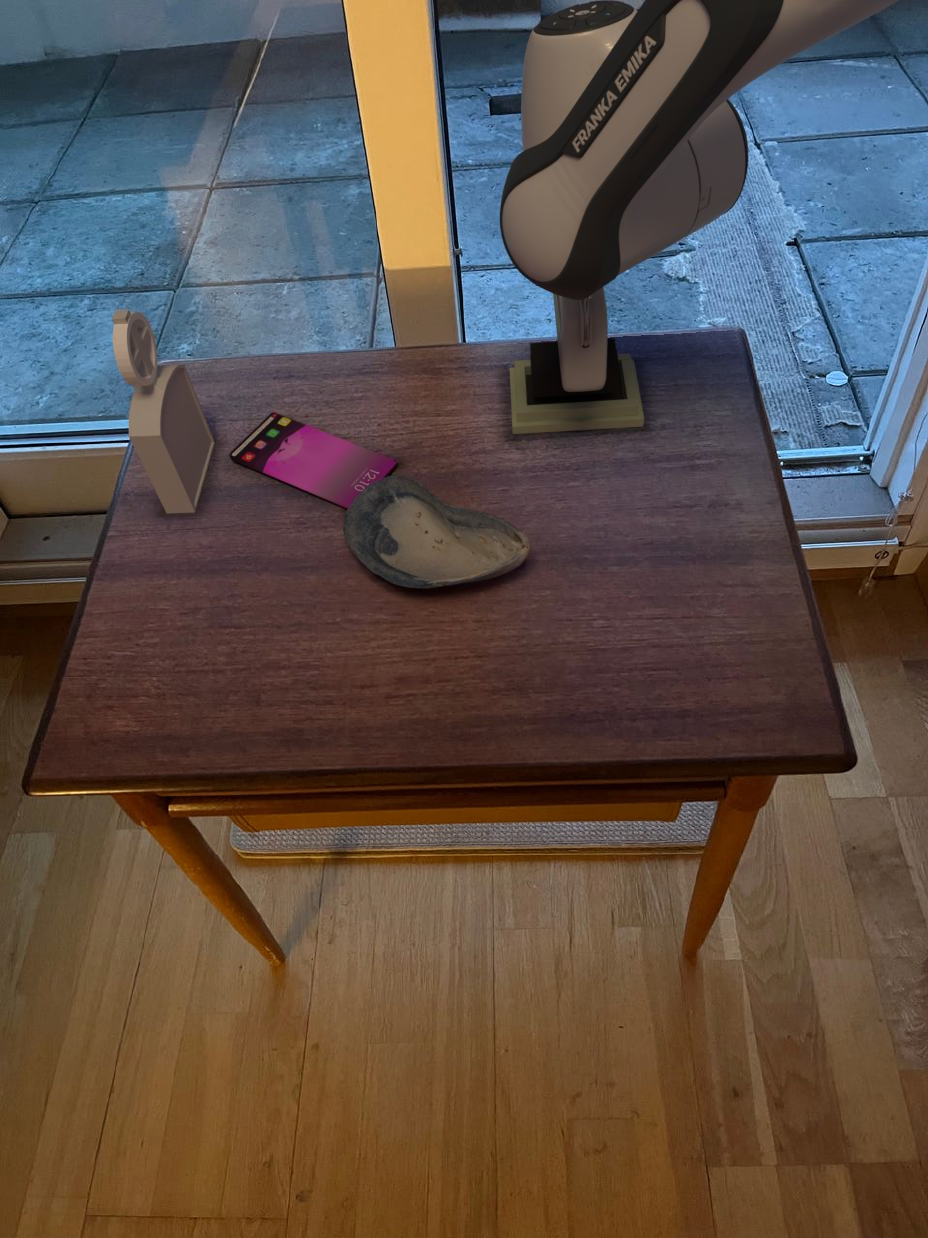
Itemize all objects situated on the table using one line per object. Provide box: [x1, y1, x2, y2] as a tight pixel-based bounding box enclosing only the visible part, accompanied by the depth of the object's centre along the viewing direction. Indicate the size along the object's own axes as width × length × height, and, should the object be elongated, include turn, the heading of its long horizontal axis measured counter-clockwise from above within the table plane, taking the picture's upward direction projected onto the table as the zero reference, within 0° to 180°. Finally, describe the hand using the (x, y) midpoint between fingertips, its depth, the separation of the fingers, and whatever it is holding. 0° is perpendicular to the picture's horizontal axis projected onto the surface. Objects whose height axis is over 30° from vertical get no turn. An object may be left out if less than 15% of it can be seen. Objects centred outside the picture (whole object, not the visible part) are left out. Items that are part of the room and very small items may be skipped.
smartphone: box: [228, 411, 399, 510], centre depth 87 cm, size 7×15×1 cm, turn 59°
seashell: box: [342, 475, 532, 589], centre depth 77 cm, size 15×12×5 cm
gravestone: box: [111, 308, 216, 515], centre depth 80 cm, size 3×9×18 cm, turn 178°
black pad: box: [529, 337, 620, 398], centre depth 86 cm, size 8×4×3 cm, turn 90°
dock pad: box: [509, 352, 645, 435], centre depth 89 cm, size 12×9×2 cm
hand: (574, 366), depth 86 cm, fingers closed on black pad, 4 cm apart
